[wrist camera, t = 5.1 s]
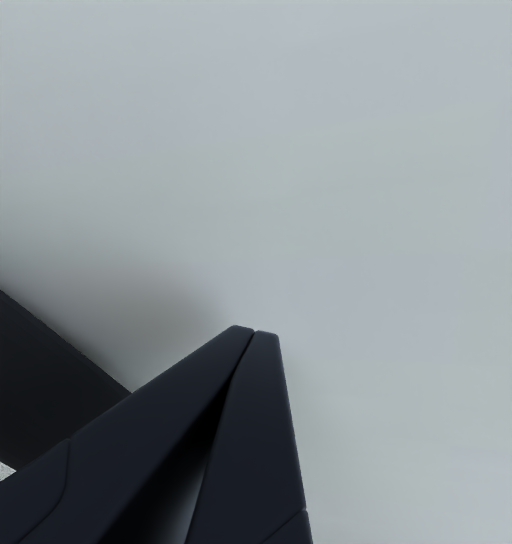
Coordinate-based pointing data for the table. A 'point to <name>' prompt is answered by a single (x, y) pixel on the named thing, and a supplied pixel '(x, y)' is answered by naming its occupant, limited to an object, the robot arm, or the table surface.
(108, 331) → the table surface
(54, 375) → the electric trimmer
